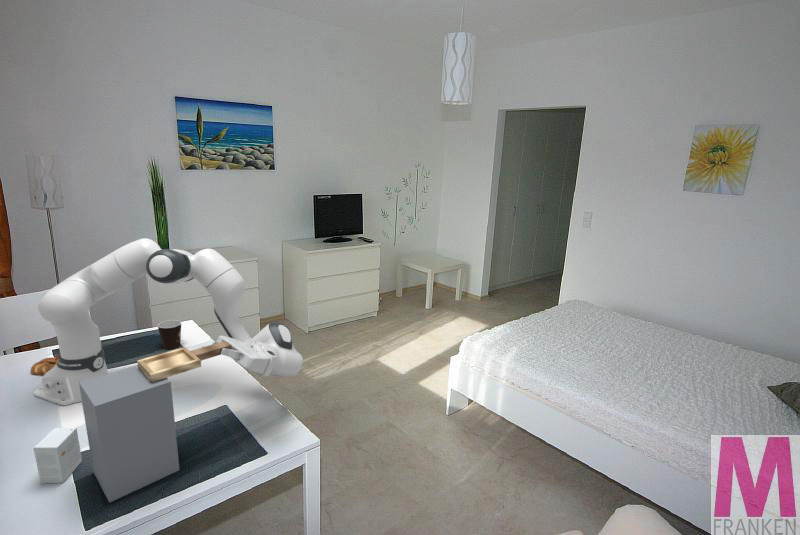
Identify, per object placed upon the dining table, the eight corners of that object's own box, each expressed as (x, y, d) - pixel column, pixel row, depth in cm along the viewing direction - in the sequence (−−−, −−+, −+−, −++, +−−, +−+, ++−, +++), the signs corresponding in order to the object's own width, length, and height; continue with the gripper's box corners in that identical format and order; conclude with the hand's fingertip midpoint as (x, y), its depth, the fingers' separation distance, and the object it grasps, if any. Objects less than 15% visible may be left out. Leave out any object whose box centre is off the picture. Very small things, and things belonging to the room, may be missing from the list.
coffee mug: (173, 352, 179) (171, 329, 176) (155, 349, 181) (152, 326, 178) (192, 340, 190) (190, 318, 187) (174, 337, 192) (172, 316, 189)
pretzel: (30, 380, 155) (28, 371, 154) (32, 367, 163) (30, 358, 162) (72, 371, 162) (71, 362, 161) (72, 359, 170) (71, 350, 169)
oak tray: (220, 343, 131) (220, 337, 130) (237, 355, 124) (236, 348, 123) (137, 367, 115) (137, 360, 114) (151, 382, 108) (150, 375, 108)
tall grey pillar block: (159, 444, 126) (150, 361, 119) (179, 470, 117) (170, 381, 110) (93, 472, 115) (78, 381, 108) (109, 502, 105) (94, 406, 98)
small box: (60, 461, 118) (54, 427, 115) (83, 461, 118) (77, 427, 115) (39, 484, 110) (32, 447, 107) (63, 483, 110) (56, 447, 108)
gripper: (245, 336, 142) (206, 325, 132) (279, 358, 129) (239, 349, 118) (236, 354, 141) (196, 345, 131) (270, 379, 128) (229, 371, 118)
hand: (217, 347), depth 125 cm, fingers closed on oak tray, 3 cm apart
